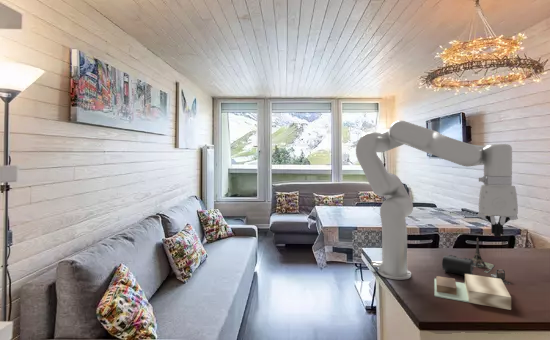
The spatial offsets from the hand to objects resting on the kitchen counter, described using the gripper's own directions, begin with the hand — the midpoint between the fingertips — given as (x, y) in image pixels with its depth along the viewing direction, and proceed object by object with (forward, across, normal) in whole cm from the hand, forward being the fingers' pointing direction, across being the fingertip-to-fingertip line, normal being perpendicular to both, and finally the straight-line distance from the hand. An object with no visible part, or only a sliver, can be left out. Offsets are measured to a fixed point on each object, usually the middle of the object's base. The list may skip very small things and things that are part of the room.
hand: (497, 235), depth 100 cm
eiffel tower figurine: (+22, -1, +34) cm, 40 cm away
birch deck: (+21, -3, 0) cm, 21 cm away
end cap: (+21, -10, +19) cm, 30 cm away
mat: (+21, -13, 0) cm, 25 cm away
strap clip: (+22, +4, +19) cm, 29 cm away
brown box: (+18, -15, 0) cm, 24 cm away
